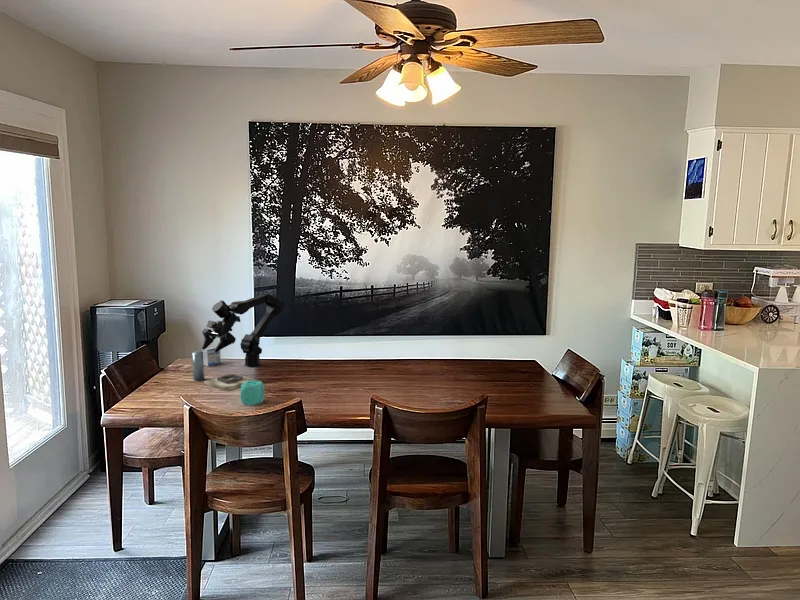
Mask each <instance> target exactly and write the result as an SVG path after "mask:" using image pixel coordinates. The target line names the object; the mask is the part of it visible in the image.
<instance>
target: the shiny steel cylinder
mask: <svg viewBox="0 0 800 600" xmlns="http://www.w3.org/2000/svg"><path fill="white" fill-rule="evenodd" d="M191 359H192V360H191V361H192V374H193V375H192V376H193V381H194V382H202V381H205V366H204V361H203V352H202V350H198V351H192V353H191ZM201 380H202V381H201Z"/></svg>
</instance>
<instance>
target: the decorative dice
mask: <svg viewBox="0 0 800 600" xmlns="http://www.w3.org/2000/svg"><path fill="white" fill-rule="evenodd" d="M264 398H265V385H264V382H262V381H261V380H255V381H247V382H244V383H243V384H242V386H241V387H240V400H241V403H242V404H243V405H246V404H248V405H247V406H256V405H260V404H262V403H263V401H265V399H264Z"/></svg>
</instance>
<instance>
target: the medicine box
mask: <svg viewBox="0 0 800 600" xmlns="http://www.w3.org/2000/svg"><path fill="white" fill-rule="evenodd" d="M216 347H217V346H211V347H207V348H206V349H204V350H203V349H202V348H201V351H202V352H203V361H204V365H205V366H204V367H208V366H209V367H212V366H211V365H213V366H216V365H215V364H217V365H220V364H221V363H222V362H221V360H222V359H221V350H219V351H218V352H215V349H216Z"/></svg>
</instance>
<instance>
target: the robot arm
mask: <svg viewBox="0 0 800 600" xmlns="http://www.w3.org/2000/svg"><path fill="white" fill-rule="evenodd" d="M262 304H265V306H266V309H265V310H266V311H265V313H264V314H263V316H262V317H261V319H260V320H259V322H258V324H257V325H256V326H255V327H254V329H253V330H252V332H251V333H250V334H249V333H248V334H246V333H245V334H244V336H243V338H242V339H241V342H240V343H239V345H240V349H241V351H242V352H243V354H245V357H244V362H245V363H243V366H245V365H247V366H246V367H249V366H251V367H250V368H254V367H257V365H258V366H262V363H261V360H260V355H261V354H262V352H263V349H262V348H261V347H260V340H261V337H262V336H263V334H264V333H265V331H266V330H267V329H268V327H269V326H270V324H271V322H272V321H273V320H274V318H275V317H276V316H279V314H281V313H282V312H283V311H284V309H286V306H285V302H284V301H283V300H281V299H278V298H277V297H275V296H273V295H271V294H270V293H261V294H260V295H257V296H254V297H252V298H249V299H246V300H239V301H232V302H231V303H230V304H227V303H226V301H224V300H219V301H218V302H216V303H215V304H213V306H212V307H211V311H213V313H214V314H215V315H216V316H218V318H220V319H222V320H217V321H214V320H208V321H207V325H206V328H203V330H202V331H201V334H202V336H203V338H204V340H203V344H202V347H201V350H202V349H203V350H204V349H206V348H209V346H210V345H211V344H213V343H214V340H216V338H218V339H219V342H218V344H217V346H215V347H216V349H215V352H218V351H219V350H220V351H221V350H223V349H224V348H226V347H228V346H231V345H234V344H235V343H236V340H237V339H236V337H235V336H234V335H233V334H232V333H231V332H233V330H234V329H233V326H234V325H235V324H236V322H237V323H238V322H239V323H241V322H242V321H241V317H240V316H238V315H244V314H246V313H247V312H249V310H250V309H253V308H254V307H255V308H256V307H257V306H259V305H262ZM253 366H254V367H253Z"/></svg>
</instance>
